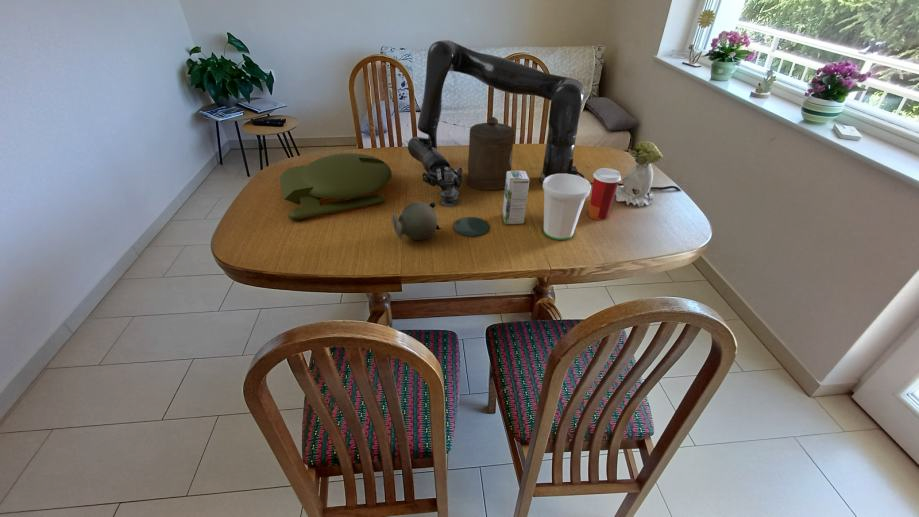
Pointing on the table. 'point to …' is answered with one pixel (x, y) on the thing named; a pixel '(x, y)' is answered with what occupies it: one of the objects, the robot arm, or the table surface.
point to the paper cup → (603, 192)
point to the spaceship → (334, 184)
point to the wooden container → (490, 154)
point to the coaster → (471, 226)
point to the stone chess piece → (449, 190)
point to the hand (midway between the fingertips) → (452, 186)
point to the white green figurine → (639, 175)
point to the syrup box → (515, 197)
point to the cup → (563, 204)
